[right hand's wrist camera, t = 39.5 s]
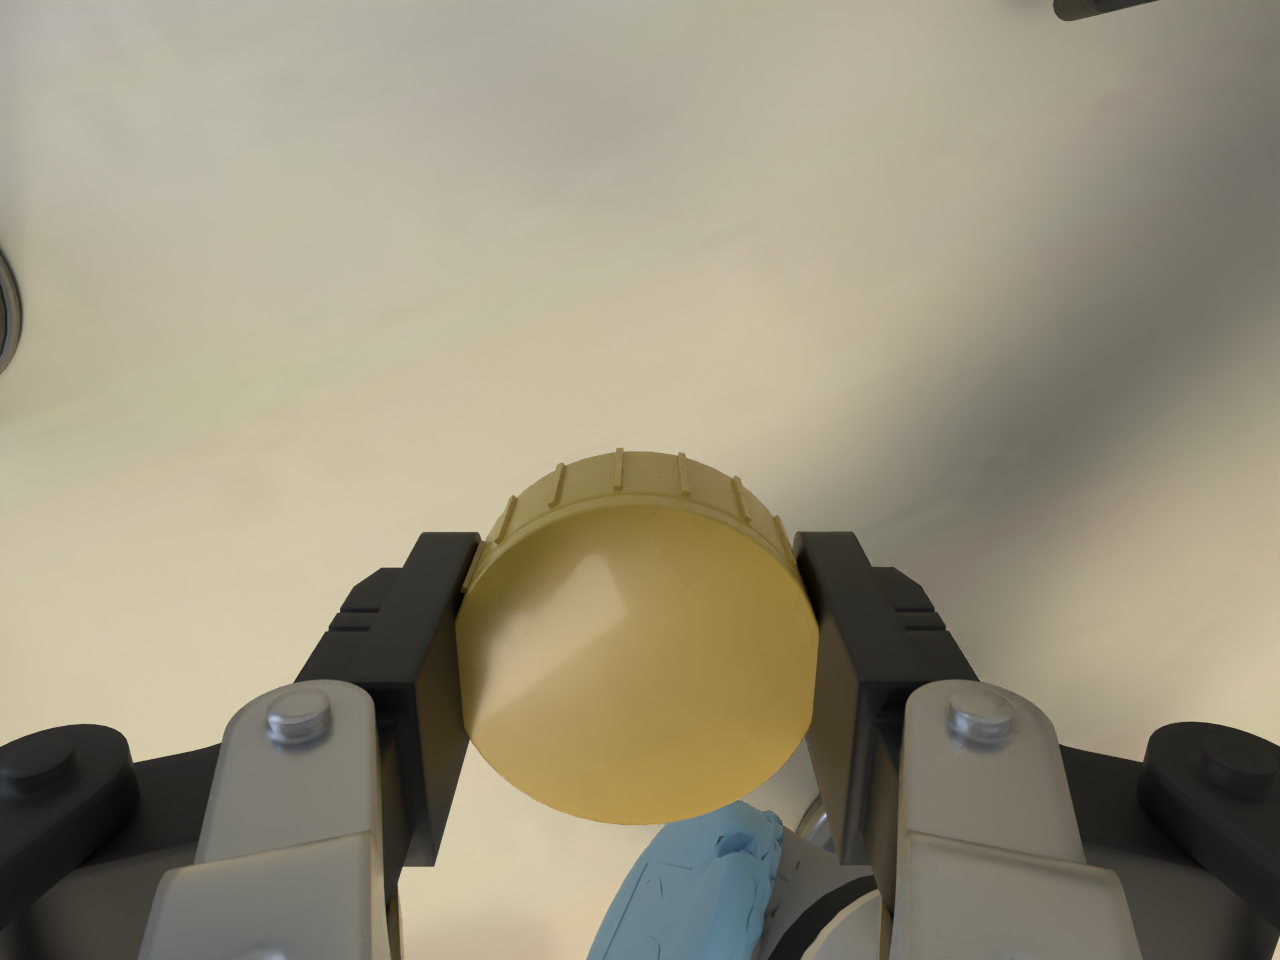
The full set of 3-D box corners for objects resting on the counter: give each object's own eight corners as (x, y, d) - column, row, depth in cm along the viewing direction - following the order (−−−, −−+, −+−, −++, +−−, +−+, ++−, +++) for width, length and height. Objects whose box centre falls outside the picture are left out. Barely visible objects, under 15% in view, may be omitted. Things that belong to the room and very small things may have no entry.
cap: (779, 747, 13) (800, 839, 11) (468, 726, 13) (441, 816, 11) (827, 460, 11) (860, 517, 10) (471, 433, 11) (441, 485, 9)
